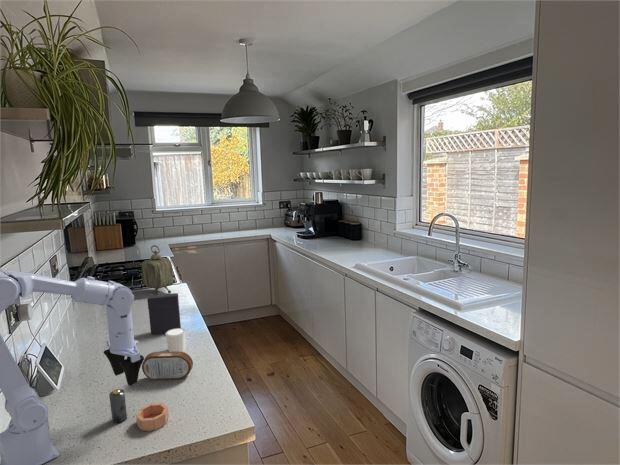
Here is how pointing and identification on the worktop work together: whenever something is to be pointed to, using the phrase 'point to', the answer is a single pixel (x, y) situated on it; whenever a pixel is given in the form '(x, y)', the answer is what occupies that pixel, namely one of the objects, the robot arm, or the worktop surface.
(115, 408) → the cell
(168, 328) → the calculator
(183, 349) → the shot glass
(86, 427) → the worktop surface
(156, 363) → the tin
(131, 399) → the worktop surface
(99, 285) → the robot arm
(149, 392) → the worktop surface
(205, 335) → the worktop surface
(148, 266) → the tabletop clock
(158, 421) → the cup
